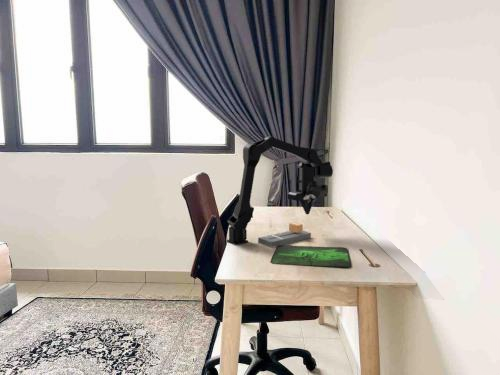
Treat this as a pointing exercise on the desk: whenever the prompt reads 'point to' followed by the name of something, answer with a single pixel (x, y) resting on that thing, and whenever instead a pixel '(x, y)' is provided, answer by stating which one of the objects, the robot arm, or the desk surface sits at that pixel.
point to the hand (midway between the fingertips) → (307, 214)
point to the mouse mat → (311, 256)
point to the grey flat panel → (283, 238)
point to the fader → (295, 227)
